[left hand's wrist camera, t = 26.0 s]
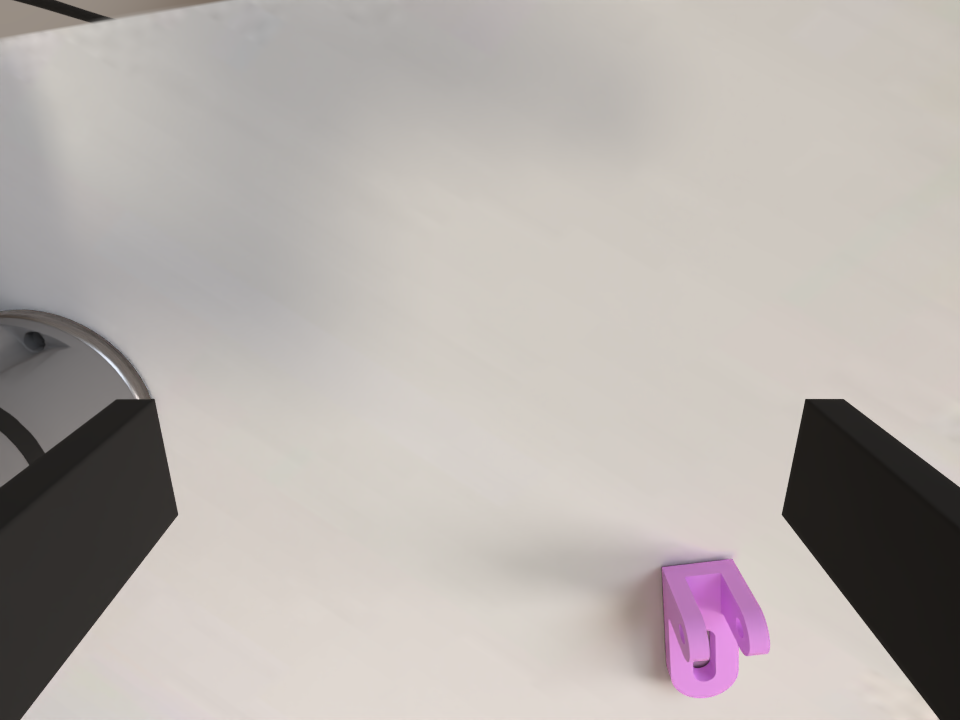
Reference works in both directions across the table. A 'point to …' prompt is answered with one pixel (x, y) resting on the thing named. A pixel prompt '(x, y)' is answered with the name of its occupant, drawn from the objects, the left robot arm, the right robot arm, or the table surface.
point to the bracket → (709, 625)
